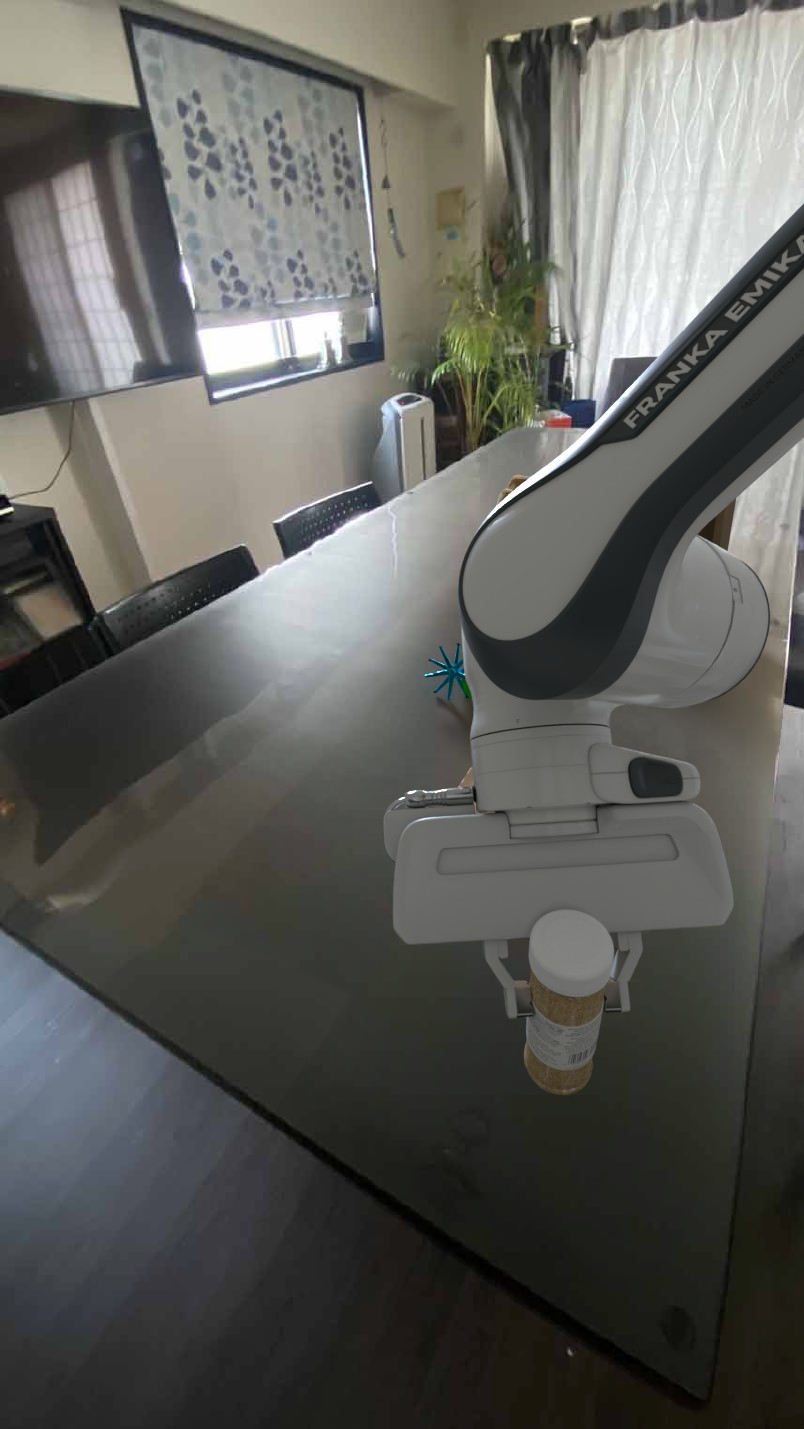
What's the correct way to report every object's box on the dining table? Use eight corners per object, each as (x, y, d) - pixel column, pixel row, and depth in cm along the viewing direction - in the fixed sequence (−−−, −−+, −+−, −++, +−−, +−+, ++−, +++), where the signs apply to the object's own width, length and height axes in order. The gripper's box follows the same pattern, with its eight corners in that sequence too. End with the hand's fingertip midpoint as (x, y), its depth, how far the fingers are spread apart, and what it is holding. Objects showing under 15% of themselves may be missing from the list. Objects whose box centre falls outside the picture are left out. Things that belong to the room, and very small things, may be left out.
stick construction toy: (413, 684, 89) (437, 633, 88) (425, 685, 95) (448, 638, 94) (491, 722, 86) (517, 670, 85) (498, 721, 93) (522, 672, 92)
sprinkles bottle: (572, 1021, 45) (590, 897, 37) (605, 1086, 41) (632, 964, 34) (511, 1040, 44) (516, 917, 37) (539, 1108, 41) (551, 987, 33)
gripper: (376, 789, 38) (391, 1039, 35) (726, 765, 37) (765, 1018, 35) (384, 795, 44) (397, 1007, 42) (683, 774, 43) (714, 989, 41)
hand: (567, 1012), depth 38 cm, fingers closed on sprinkles bottle, 4 cm apart
